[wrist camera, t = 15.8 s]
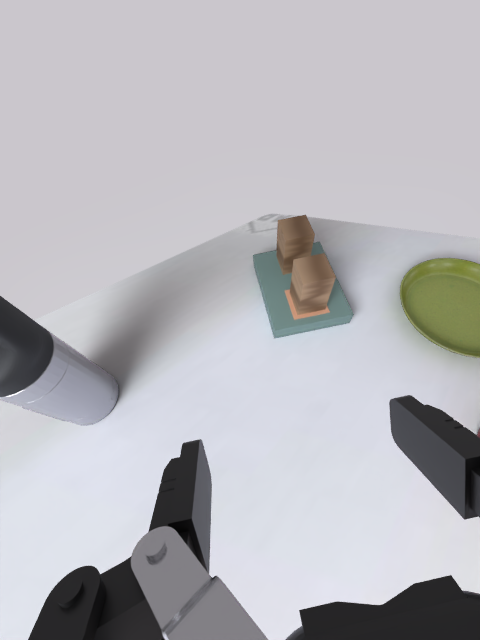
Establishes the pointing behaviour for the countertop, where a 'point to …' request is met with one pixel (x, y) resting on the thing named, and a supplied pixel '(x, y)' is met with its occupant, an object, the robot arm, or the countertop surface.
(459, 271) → the saucer
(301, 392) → the countertop surface
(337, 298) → the build board
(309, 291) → the walnut block
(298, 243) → the walnut column
